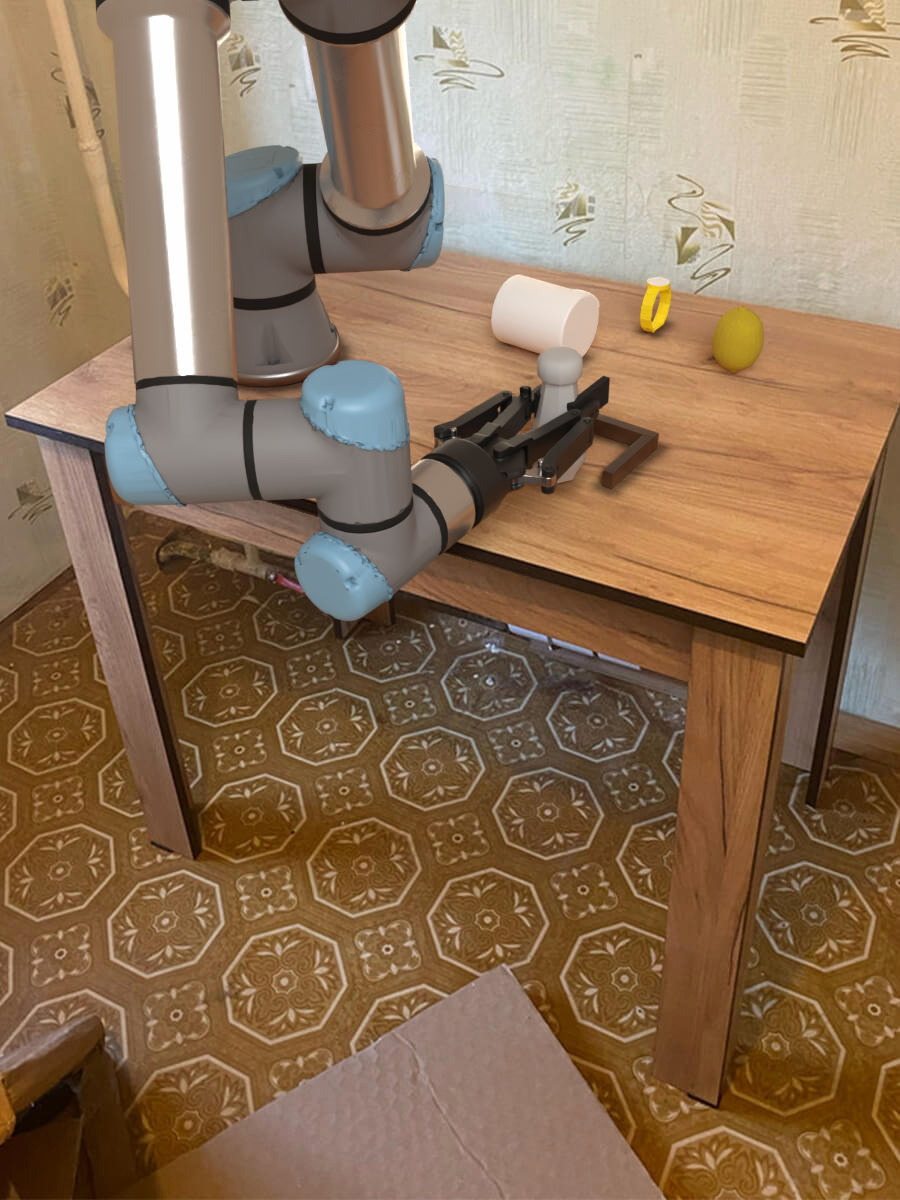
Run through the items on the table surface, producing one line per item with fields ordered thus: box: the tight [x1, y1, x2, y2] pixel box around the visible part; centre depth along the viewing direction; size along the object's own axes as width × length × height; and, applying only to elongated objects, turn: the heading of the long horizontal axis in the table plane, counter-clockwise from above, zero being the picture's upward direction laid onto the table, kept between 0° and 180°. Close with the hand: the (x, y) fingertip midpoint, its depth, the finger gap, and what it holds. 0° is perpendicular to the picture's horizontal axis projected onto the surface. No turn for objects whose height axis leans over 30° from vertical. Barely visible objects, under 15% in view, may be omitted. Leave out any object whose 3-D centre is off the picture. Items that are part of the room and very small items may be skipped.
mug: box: [490, 274, 601, 358], centre depth 130 cm, size 12×10×8 cm
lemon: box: [711, 305, 765, 374], centre depth 123 cm, size 6×6×8 cm
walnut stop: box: [524, 413, 660, 490], centre depth 113 cm, size 11×9×2 cm
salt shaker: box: [531, 347, 587, 484], centre depth 106 cm, size 6×6×13 cm
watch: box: [639, 276, 673, 334], centre depth 133 cm, size 6×3×6 cm, turn 147°
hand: (589, 384), depth 109 cm, fingers closed on salt shaker, 3 cm apart
